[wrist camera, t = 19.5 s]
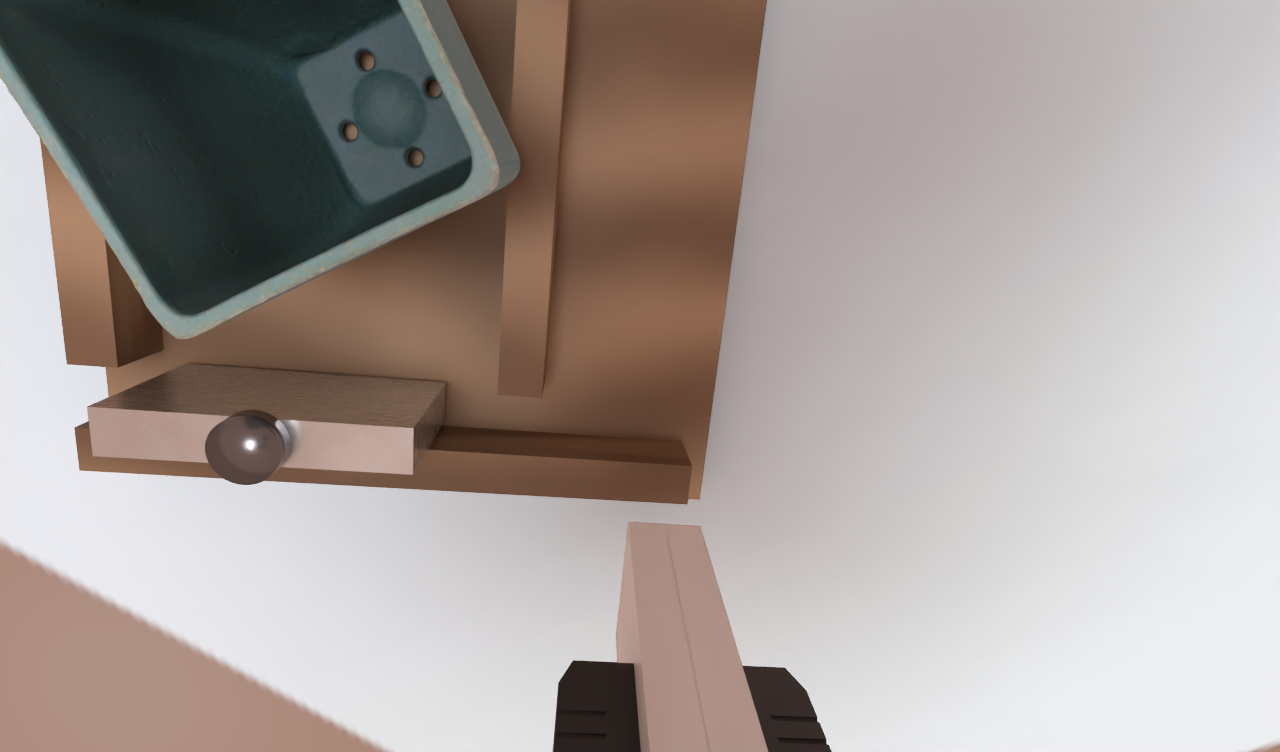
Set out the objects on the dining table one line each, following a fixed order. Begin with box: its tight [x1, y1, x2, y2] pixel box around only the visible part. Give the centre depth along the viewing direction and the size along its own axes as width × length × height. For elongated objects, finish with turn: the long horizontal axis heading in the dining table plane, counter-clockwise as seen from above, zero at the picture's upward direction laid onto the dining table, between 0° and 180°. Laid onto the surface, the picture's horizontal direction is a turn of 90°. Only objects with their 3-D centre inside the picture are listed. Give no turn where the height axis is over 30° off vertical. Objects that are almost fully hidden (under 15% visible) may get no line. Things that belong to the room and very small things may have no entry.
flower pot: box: [0, 0, 520, 339], centre depth 18 cm, size 9×9×9 cm
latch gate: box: [87, 364, 446, 485], centre depth 22 cm, size 2×9×6 cm, turn 84°
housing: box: [40, 0, 767, 504], centre depth 23 cm, size 21×22×4 cm
